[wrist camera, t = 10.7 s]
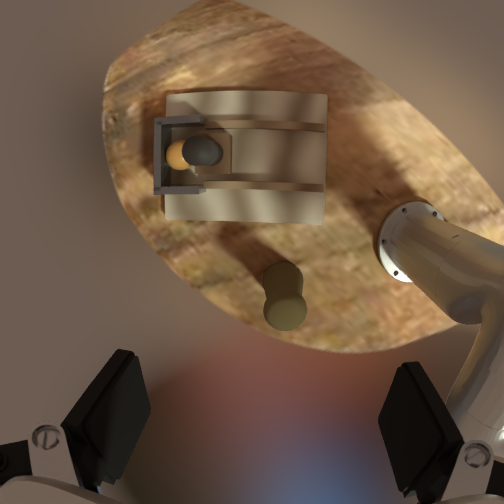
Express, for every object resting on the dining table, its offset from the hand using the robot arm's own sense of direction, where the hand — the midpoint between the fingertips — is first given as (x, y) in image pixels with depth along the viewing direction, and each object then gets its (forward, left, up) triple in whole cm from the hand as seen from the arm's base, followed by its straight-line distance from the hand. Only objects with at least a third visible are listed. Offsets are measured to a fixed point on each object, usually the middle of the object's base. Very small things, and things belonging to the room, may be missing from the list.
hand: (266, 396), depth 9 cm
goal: (+12, -9, -32) cm, 35 cm away
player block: (+8, -9, -32) cm, 34 cm away
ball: (+12, -9, -30) cm, 33 cm away
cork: (-2, +9, -34) cm, 35 cm away
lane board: (+4, -9, -33) cm, 35 cm away
